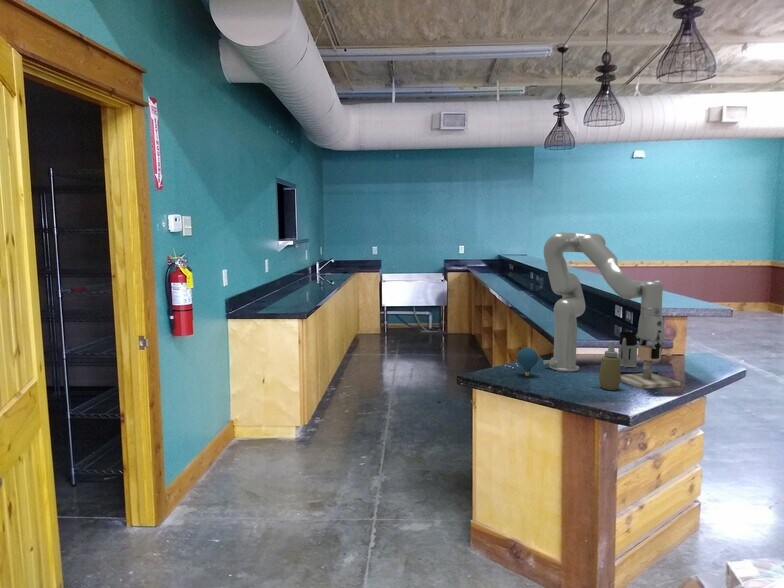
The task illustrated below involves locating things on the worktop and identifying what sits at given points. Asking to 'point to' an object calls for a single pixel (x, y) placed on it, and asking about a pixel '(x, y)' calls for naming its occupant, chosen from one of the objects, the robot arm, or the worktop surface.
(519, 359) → the light bulb
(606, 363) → the squeeze bottle
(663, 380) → the base
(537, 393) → the worktop surface
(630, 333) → the glass holder
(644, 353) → the collar
